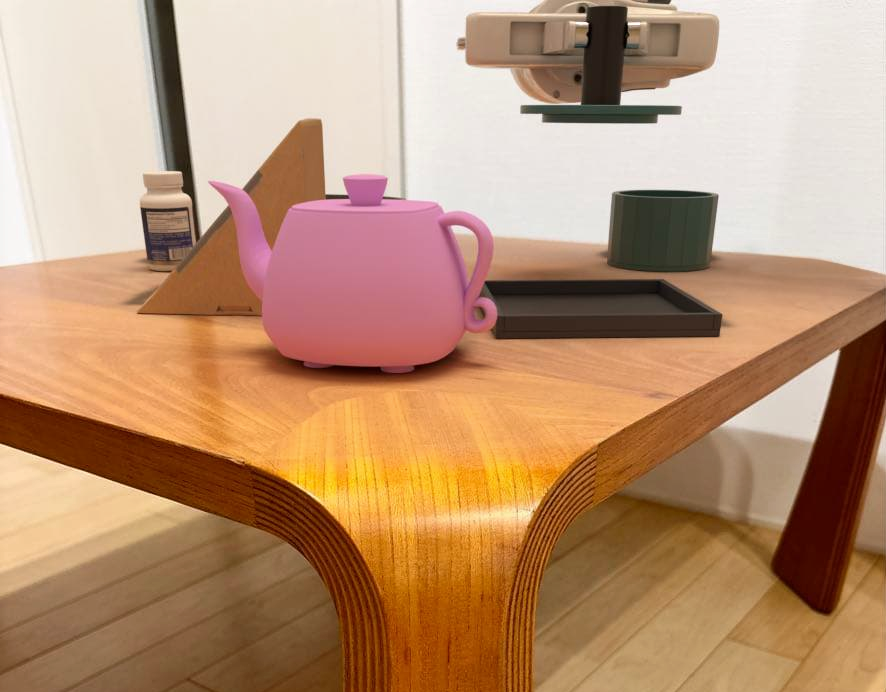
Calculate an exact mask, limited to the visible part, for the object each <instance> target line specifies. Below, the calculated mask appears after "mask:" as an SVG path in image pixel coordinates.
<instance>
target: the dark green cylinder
mask: <svg viewBox="0 0 886 692" xmlns="http://www.w3.org/2000/svg"><path fill="white" fill-rule="evenodd" d="M719 197H720V196H719V193H715V192H709V191H699V190H687V189H685V190H684V189H626V190H617V191H613V192H611V202H610V215H609V226H608V227H609V229H608V240H607V241H608V242H607V252H606V253H607V255H606V256H607V257H606V260H607V261H606V262H607V264H608V265H610V266H612V267H615V268H619V269H626V270H632V271H643V272H661V273H663V272H664V273H668V272H669V273H672V272H673V273H674V272H675V273H678V272H694V271H702V270H705V269H708V268H711V267H710V266H711V262H712V255H713V247H714V238H715V231H716V230H715V229H716V221H717V214H718V205H719Z"/></svg>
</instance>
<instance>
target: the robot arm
mask: <svg viewBox="0 0 886 692" xmlns="http://www.w3.org/2000/svg"><path fill="white" fill-rule="evenodd" d="M671 2H672V0H543V1H542V2H541V3H539V4H537V5H536V6H535V7H533V8H532V9H531V10H530V11H528V12H511V11H510V12H507V11H506V12H503V11H502V12H501V11H480V12H471V13H469V14H467V15H466V17H465V30H464V31H465V32H464V33H465V34H464V36H463V37H458V38H457V40H456V43H455V46H456V49H457V50H458V51H464V54H465V55H464V58H465V60H464V62H465V64H466V65H467V66H469V67H471V68H472V67H473V68H477V69H478V68H479V69H496V70H497V69H498V70H500V69H502V70H509V71H510V74H511V76H512V78H513V80H514V82H515V84H516V85H517V87H518V88H519V89H520V90H521V92H523V93H524V94H525V95H526V96H527V97H529V98H531V99H533V100H534V101H538V102H541V103H544V104H547V105H562V104H578V103H581V91H582V75H583V59H584V49H586V48H587V44H588V37H587V35H586V34H587V32H588V30H589V23H588V21H586V11H587V8H588V7H593V6H624V7H627V8H628V13H627V26H626V39H625V51H624V64H623V76H622V89H621V93H625V92H626V93H627V92H632V91H645V90H646V91H647V90H648V91H650V90H656V89H666V88H668V87H669V86H670V84H671V81H672V80H675V79H676V80H677V79H682V78H685V77H689V76H692V75H695V74H698V73H702V72H704V71H707V70H709V69H710V68H712V67H713V66H714V64H715V62H716V58H717V52H718V45H719V36H720V19H719V17H718V16H717V15H716V14H714V13H707V12H695V11H694V12H693V11H680V10H678V7H677V5H675V4H671Z"/></svg>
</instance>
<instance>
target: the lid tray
mask: <svg viewBox="0 0 886 692" xmlns="http://www.w3.org/2000/svg"><path fill="white" fill-rule="evenodd" d="M481 297H484V298H488V299H490V300H491V301H492V302H493V303H494V304H495V306H496V308H497V320H496V323H495V325H494V326H493V328H492V329H491V331H492V333H493V336H494V337H495V339H575V338H577V339H578V338H579V339H583V338H584V339H585V338H586V339H587V338H592V339H593V338H669V337H670V338H673V337H675V338H677V337H678V338H680V337H684V338H686V337H720V336H721V329H722V320H723V313H722V312H720V311H718V310H716V309H715V308H713V307H711V306H710V305H708V304H707V303H705V302H703V301H701V300H700V299H698V298H696V297H695V296H693V295H691V294H689V293H688V292H686V291H684V290H683V289H681V288H679V287H678V286H676V285H674V284H672V283H671V282H669V281H667V280H665V279H664V278H647V279H646V278H635V279H634V278H630V279H629V278H628V279H627V278H625V279H623V278H622V279H621V278H620V279H618V278H617V279H616V278H614V279H613V278H612V279H610V278H609V279H606V278H605V279H603V278H602V279H485V282H484V284H483V287H482V290H481V292H480V295H479V297H478V298H481ZM480 310H481V311H482V313H483V316H484V317H485V316H486V313H485V310H484V309H483V308H482V307H480Z"/></svg>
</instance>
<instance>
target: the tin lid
mask: <svg viewBox="0 0 886 692" xmlns="http://www.w3.org/2000/svg"><path fill="white" fill-rule="evenodd" d="M627 13H628V8H627V7H624V6H593V7H588V8H587V11H586V21H588V23H589V30H588V32H587V34H586V35H587V37H588V44H587V48H586V49H584V59H583V75H582V91H581V102H580V104H521V105H520V108H519V114H520V115H541V123H543V124H614V125H615V124H616V125H617V124H618V125H619V124H621V125H622V124H627V125H628V124H629V125H630V124H632V125H633V124H639V125H640V124H642V125H643V124H649V125H653V124H658V122H659V121H658V120H659V116H662V115H663V116H680V115H682V110H683V106H682V105H662V104H661V105H657V104H656V105H655V104H654V105H652V104H651V105H650V104H643V105H642V104H621V99H622V92H621V89H622V76H623V64H624V51H625V39H626V26H627Z"/></svg>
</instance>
